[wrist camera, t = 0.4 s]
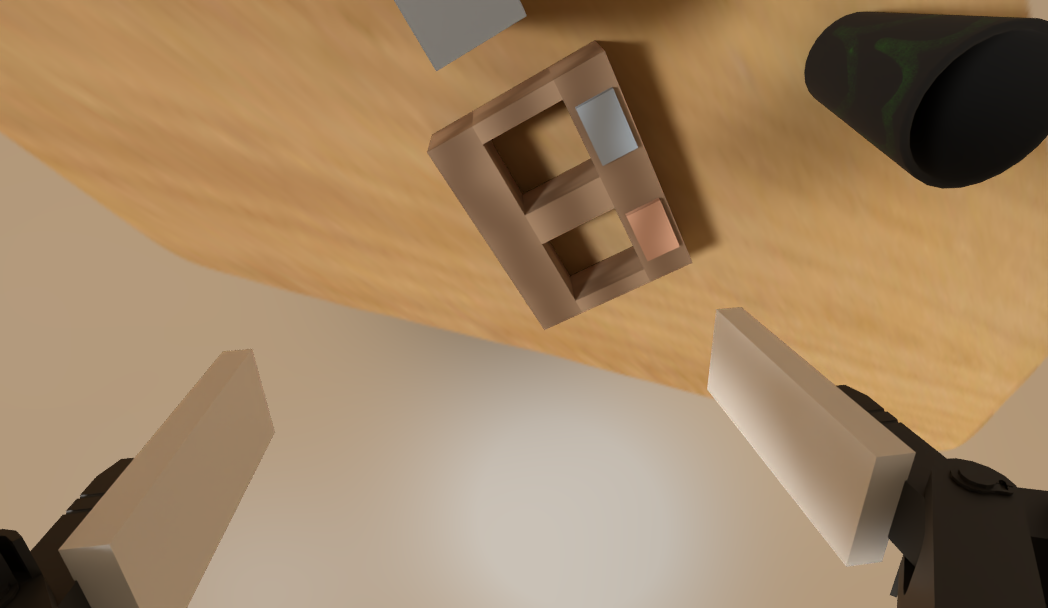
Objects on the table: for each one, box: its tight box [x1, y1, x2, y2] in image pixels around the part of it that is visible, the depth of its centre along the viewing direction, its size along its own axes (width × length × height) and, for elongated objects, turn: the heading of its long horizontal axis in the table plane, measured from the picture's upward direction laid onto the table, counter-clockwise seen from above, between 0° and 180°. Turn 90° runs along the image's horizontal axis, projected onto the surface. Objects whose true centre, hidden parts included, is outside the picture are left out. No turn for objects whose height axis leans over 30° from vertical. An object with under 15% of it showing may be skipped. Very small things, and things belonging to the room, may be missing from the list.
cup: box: [804, 12, 1048, 188], centre depth 30 cm, size 8×8×12 cm
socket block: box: [427, 41, 692, 330], centre depth 37 cm, size 12×16×4 cm
